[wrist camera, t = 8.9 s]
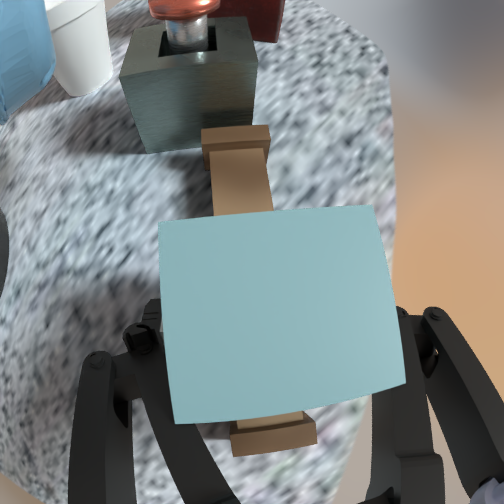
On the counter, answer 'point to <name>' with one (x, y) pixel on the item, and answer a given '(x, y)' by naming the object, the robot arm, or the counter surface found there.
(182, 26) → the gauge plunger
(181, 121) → the grey button housing
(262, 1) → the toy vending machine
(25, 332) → the counter surface
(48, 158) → the counter surface
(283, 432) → the rail
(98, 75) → the foam cup
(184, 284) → the carriage
